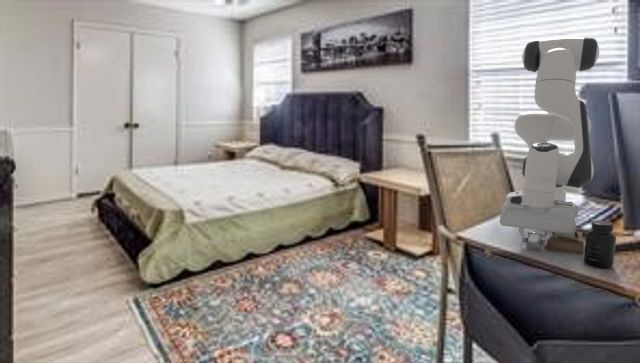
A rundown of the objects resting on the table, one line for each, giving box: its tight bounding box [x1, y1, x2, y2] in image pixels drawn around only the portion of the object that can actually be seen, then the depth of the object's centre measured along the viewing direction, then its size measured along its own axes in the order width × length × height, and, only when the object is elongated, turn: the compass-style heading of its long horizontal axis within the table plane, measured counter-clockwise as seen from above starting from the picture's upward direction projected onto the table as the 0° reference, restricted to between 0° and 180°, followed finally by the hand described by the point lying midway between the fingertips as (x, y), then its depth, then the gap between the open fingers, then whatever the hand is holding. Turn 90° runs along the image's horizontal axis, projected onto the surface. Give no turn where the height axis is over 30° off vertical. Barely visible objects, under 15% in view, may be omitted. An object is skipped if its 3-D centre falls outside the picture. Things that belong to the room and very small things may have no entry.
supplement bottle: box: [583, 219, 617, 270], centre depth 118 cm, size 7×7×12 cm
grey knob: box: [525, 230, 543, 252], centre depth 132 cm, size 4×4×5 cm
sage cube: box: [555, 222, 577, 238], centre depth 133 cm, size 5×5×5 cm
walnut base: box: [544, 230, 585, 255], centre depth 133 cm, size 10×10×4 cm
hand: (533, 243), depth 132 cm, fingers closed on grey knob, 4 cm apart
